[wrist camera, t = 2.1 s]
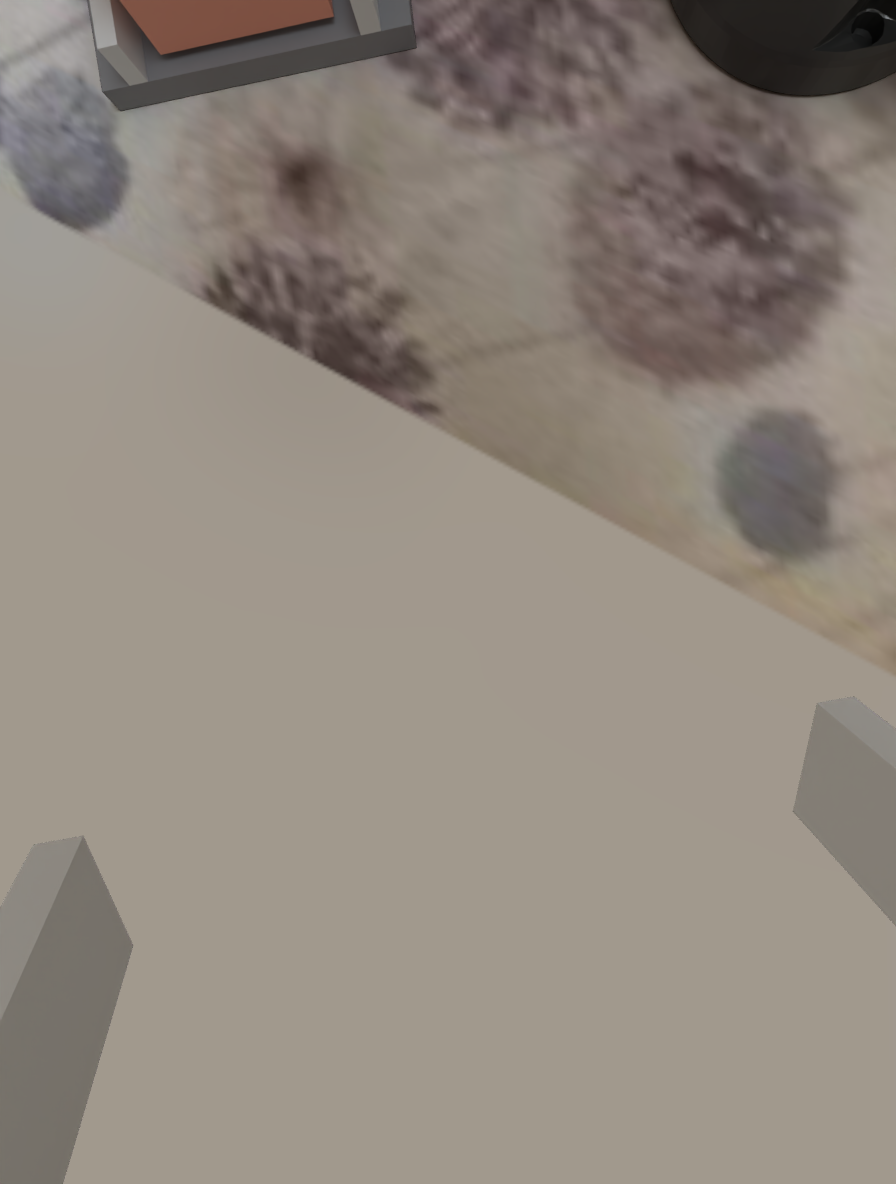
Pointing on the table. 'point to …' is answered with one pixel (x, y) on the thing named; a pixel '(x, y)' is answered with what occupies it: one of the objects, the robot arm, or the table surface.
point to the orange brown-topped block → (218, 19)
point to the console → (240, 51)
